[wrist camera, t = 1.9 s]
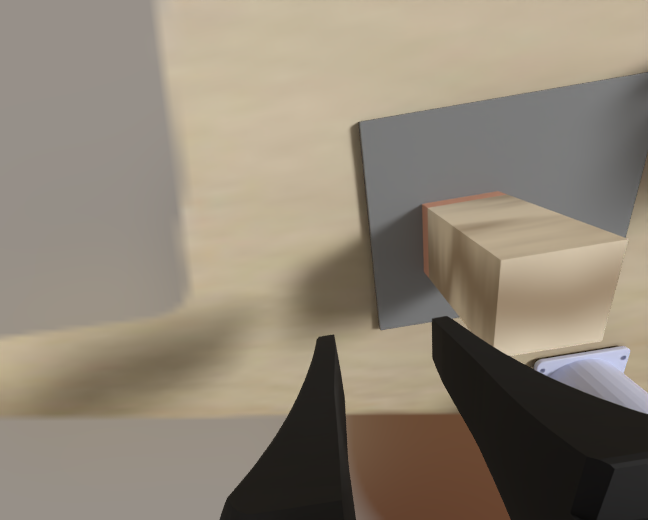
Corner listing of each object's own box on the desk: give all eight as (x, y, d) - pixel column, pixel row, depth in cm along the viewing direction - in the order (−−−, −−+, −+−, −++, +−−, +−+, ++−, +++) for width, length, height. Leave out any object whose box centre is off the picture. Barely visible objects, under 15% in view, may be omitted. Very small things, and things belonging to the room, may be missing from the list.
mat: (605, 289, 25) (611, 292, 24) (379, 326, 25) (380, 330, 24) (660, 69, 18) (669, 68, 18) (358, 121, 19) (359, 121, 18)
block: (492, 260, 22) (602, 341, 14) (423, 271, 22) (492, 358, 14) (498, 191, 20) (628, 238, 12) (422, 203, 20) (501, 260, 12)
